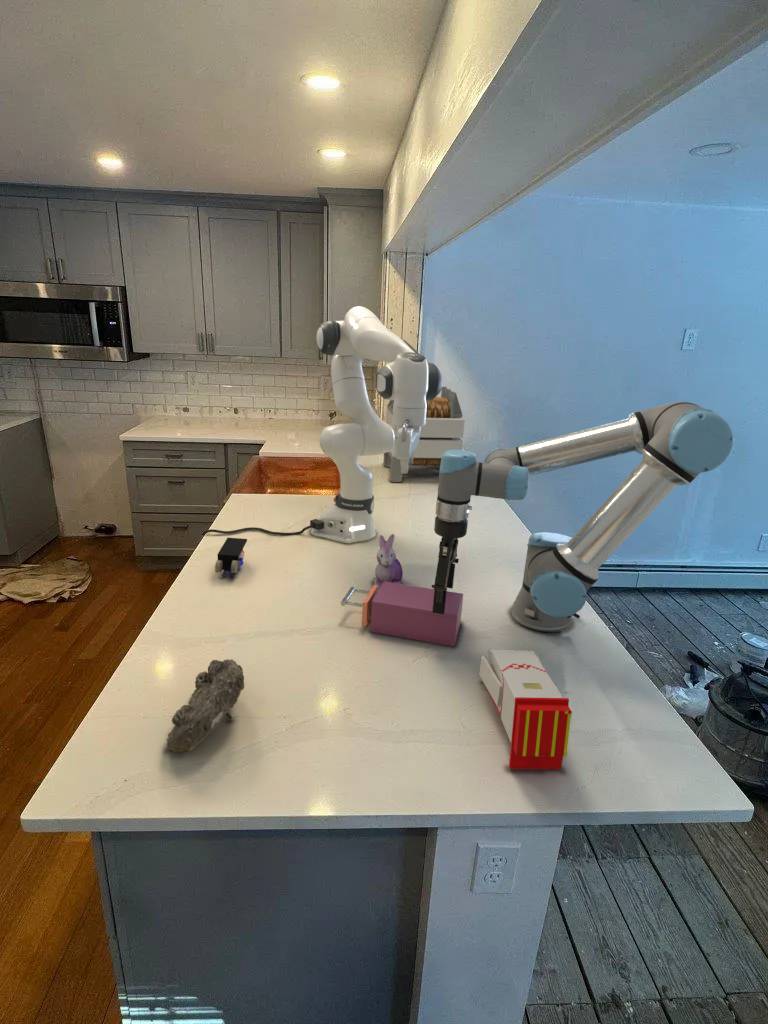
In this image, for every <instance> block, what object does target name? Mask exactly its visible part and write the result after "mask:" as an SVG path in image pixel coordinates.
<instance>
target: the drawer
mask: <svg viewBox="0 0 768 1024" xmlns="http://www.w3.org/2000/svg"><path fill="white" fill-rule="evenodd" d="M378 591H379V589H378V585H375V583H374V584H373V585H372V587H371V588H370V590H364V589H357V588H356V587H354V586H351V587H350V588H349V589H348V591H347V592H346V593H345V594H344V596H343V598H342V600H341V601H340V605H341V606H343V607H345V606H352V607H353V606H354V607H357V608H358V607H359V608H361V609H362V610H361V611H362V612H361V626H364V627H365V626H366V627H367V626H368V624H369V622H370V621H371V614H372V601H373V599H374V597H375V596H376V594H377V592H378ZM354 593H359V594H366V596H365V598H364V599H363V601H362V603H360V602H359V603H358V602H351V601H349V600H350V599H351V597H352V596H353V594H354Z"/></svg>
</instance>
